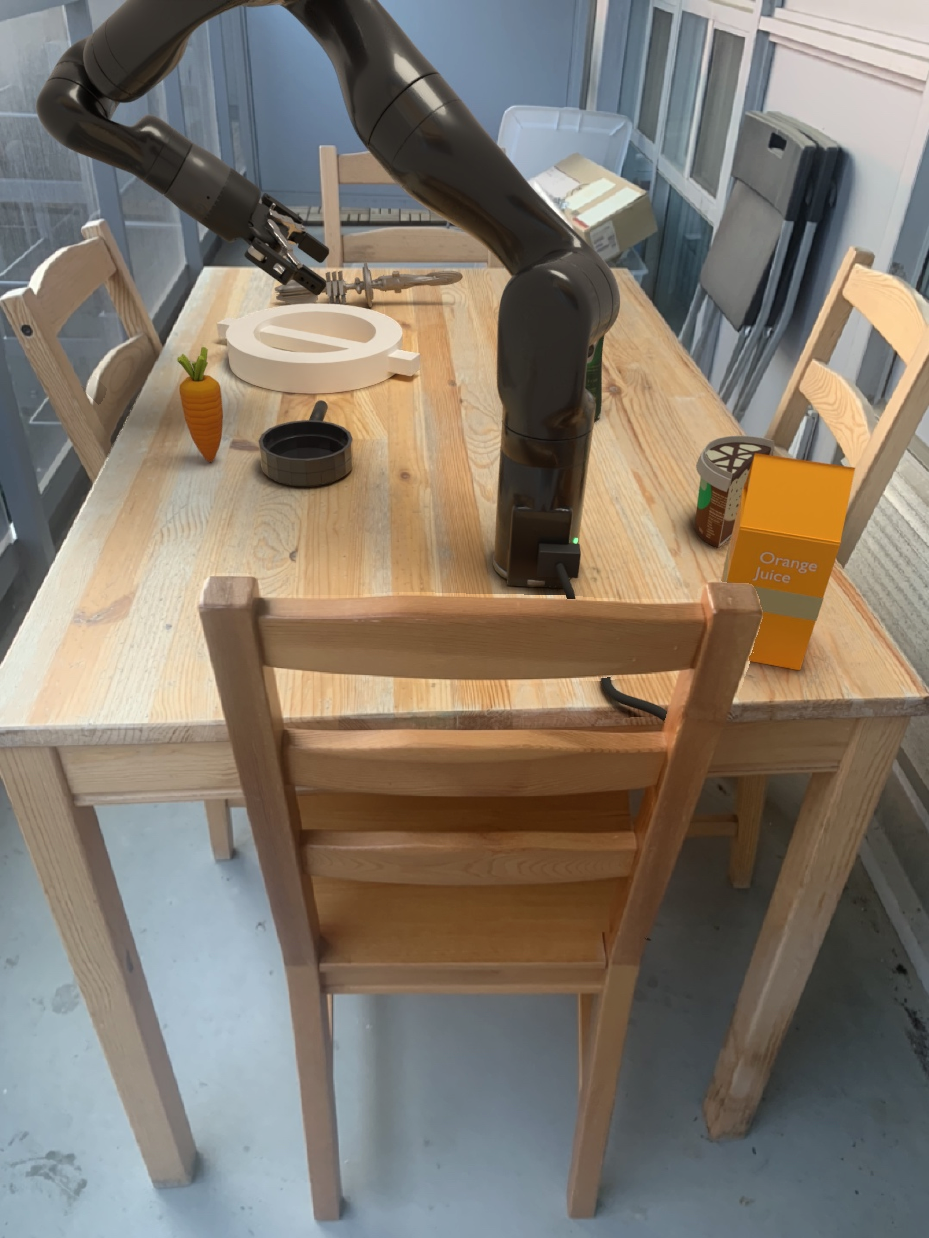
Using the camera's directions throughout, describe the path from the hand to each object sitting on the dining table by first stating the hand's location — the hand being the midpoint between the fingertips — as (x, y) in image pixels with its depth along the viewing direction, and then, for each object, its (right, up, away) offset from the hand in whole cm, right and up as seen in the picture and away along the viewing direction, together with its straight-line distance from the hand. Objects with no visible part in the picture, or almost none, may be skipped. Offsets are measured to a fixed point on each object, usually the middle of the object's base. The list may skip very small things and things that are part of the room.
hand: (324, 272), depth 119 cm
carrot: (-15, -25, +1) cm, 29 cm away
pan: (-2, -25, +1) cm, 25 cm away
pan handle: (-2, -18, +7) cm, 19 cm away
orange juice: (+48, -47, -26) cm, 72 cm away
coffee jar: (+33, -15, +17) cm, 40 cm away
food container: (+48, -34, -8) cm, 59 cm away
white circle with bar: (-6, -3, +31) cm, 32 cm away
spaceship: (0, +14, +54) cm, 56 cm away
